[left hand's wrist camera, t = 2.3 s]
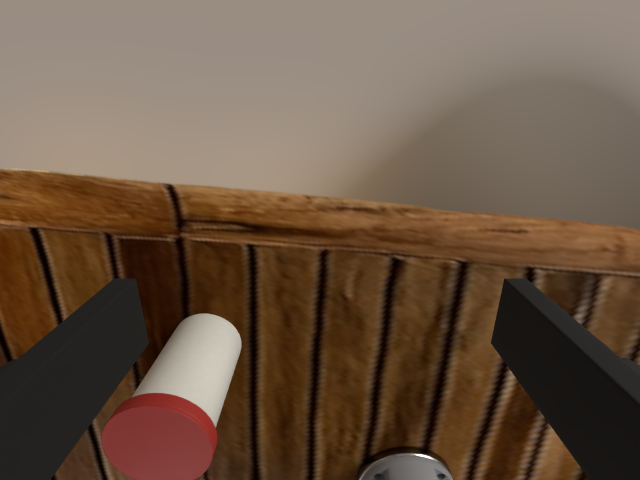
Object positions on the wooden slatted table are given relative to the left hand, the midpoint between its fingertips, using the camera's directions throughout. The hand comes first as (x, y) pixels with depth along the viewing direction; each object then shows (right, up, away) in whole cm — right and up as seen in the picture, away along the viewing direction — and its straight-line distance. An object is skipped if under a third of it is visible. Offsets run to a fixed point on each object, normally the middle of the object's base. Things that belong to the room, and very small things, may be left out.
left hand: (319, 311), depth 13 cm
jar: (-15, -11, +34) cm, 39 cm away
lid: (-15, -16, +20) cm, 30 cm away
